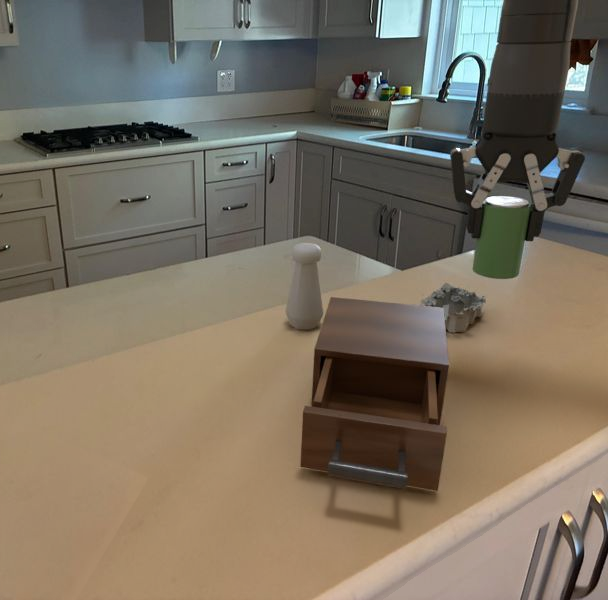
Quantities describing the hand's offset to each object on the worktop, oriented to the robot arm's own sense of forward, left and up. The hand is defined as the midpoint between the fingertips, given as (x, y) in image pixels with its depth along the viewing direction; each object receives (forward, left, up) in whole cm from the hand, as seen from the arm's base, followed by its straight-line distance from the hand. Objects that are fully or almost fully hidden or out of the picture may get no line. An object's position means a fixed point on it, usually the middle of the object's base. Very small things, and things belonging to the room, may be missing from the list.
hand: (501, 237), depth 73 cm
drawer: (+12, +21, -18) cm, 30 cm away
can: (0, 0, -4) cm, 4 cm away
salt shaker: (+24, -10, -19) cm, 33 cm away
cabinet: (+12, +6, -19) cm, 24 cm away
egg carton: (+2, -18, -19) cm, 27 cm away
